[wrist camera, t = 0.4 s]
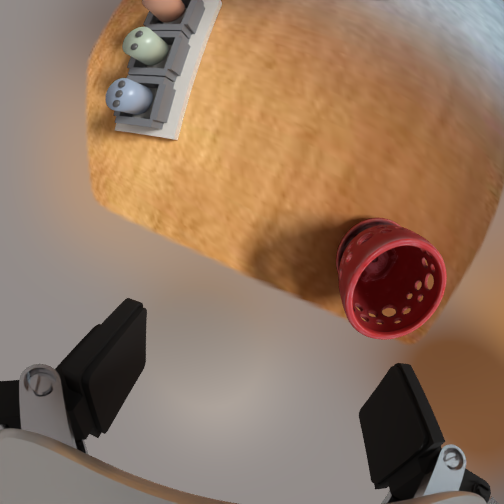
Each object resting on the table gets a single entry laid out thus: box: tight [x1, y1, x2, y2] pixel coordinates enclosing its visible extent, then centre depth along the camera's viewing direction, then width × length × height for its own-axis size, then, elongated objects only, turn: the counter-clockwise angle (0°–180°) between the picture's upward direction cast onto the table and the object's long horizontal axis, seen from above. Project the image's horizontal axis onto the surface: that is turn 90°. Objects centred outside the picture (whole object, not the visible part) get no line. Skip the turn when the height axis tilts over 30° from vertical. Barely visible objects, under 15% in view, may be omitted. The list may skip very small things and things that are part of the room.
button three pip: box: [106, 78, 153, 115], centre depth 26 cm, size 4×4×5 cm
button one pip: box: [142, 0, 185, 22], centre depth 22 cm, size 4×4×5 cm
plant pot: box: [336, 218, 446, 339], centre depth 32 cm, size 13×13×12 cm
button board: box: [114, 0, 222, 140], centre depth 29 cm, size 23×10×5 cm, turn 165°
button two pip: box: [123, 27, 168, 66], centre depth 24 cm, size 4×4×5 cm
